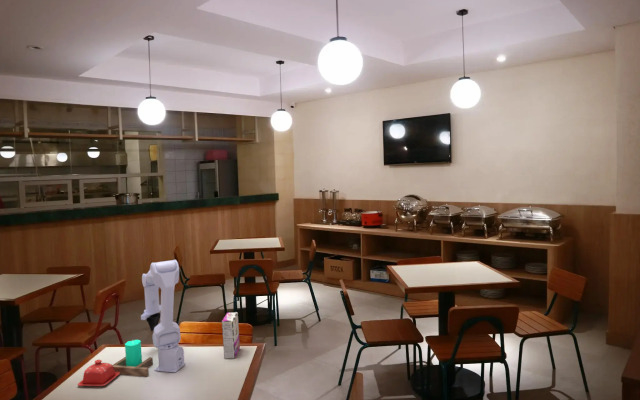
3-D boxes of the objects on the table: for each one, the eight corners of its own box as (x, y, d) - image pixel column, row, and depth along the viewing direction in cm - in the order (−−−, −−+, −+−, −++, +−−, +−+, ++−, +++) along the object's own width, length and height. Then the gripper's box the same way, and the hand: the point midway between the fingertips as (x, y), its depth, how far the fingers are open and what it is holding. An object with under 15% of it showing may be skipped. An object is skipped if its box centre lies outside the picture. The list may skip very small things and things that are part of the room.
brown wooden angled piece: (161, 365, 189) (161, 358, 189) (146, 376, 179) (145, 369, 178) (119, 362, 193) (118, 355, 193) (101, 373, 183) (101, 365, 183)
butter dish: (94, 374, 183) (93, 353, 182) (121, 375, 181) (120, 354, 181) (75, 388, 172) (74, 366, 171) (104, 389, 170) (103, 367, 169)
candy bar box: (228, 348, 204) (227, 312, 203) (240, 348, 204) (238, 311, 203) (223, 359, 193) (221, 320, 192) (235, 358, 193) (233, 320, 191)
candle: (144, 364, 190) (143, 335, 189) (138, 370, 184) (136, 341, 183) (130, 364, 191) (128, 336, 190) (123, 371, 185) (121, 341, 184)
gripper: (153, 295, 210) (155, 324, 211) (133, 304, 196) (135, 336, 197) (167, 295, 208) (169, 325, 209) (148, 305, 194) (150, 337, 195)
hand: (154, 330), depth 203 cm, fingers closed
